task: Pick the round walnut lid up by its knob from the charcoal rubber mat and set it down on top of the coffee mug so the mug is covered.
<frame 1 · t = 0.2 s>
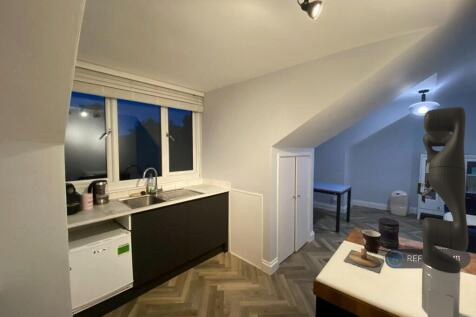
hand: (435, 204, 101), 29 cm above the counter, fingers open, 8 cm apart
lid: (363, 259, 103), resting on mat
storage jar: (388, 246, 118), on the counter
coffee mug: (371, 251, 112), on the counter
mat: (363, 260, 103), on the counter
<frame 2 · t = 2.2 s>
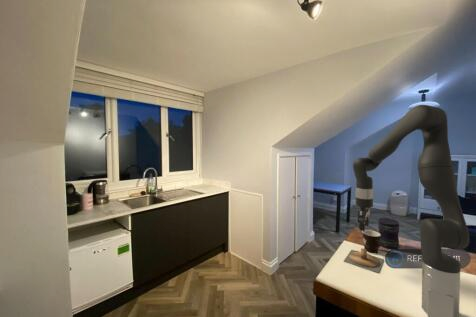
hand: (364, 227, 102), 17 cm above the counter, fingers open, 8 cm apart
nothing on the counter moved.
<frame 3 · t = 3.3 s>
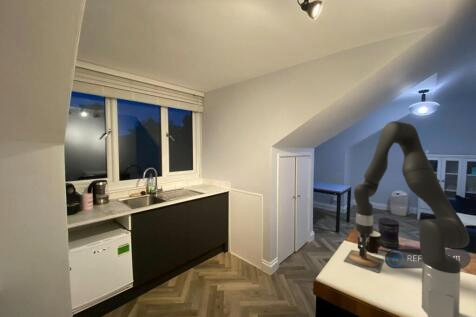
hand: (364, 252, 103), 4 cm above the counter, fingers open, 8 cm apart
nothing on the counter moved.
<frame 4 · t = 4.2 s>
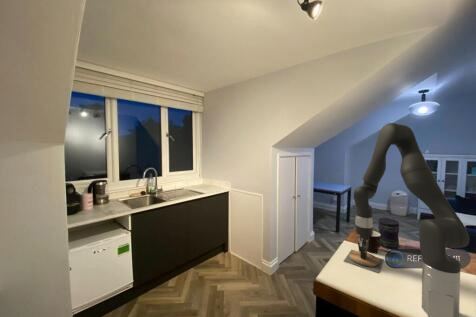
hand: (363, 257, 103), 2 cm above the counter, fingers closed on lid, 2 cm apart
lid: (363, 259, 103), point 1 cm above the counter, touching gripper
everything else where it was.
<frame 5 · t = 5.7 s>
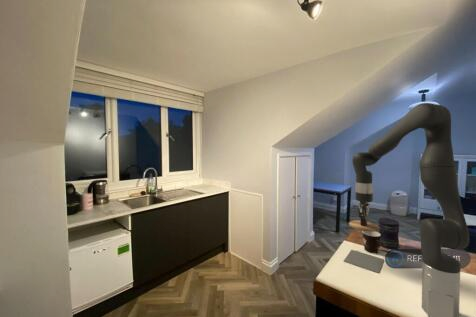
hand: (363, 224, 102), 19 cm above the counter, fingers closed on lid, 2 cm apart
lid: (363, 226, 102), point 18 cm above the counter, touching gripper
everything else where it was.
when the fingers open (13 cm above the counter, at t = 7.5 s): lid drops 2 cm, resting on coffee mug.
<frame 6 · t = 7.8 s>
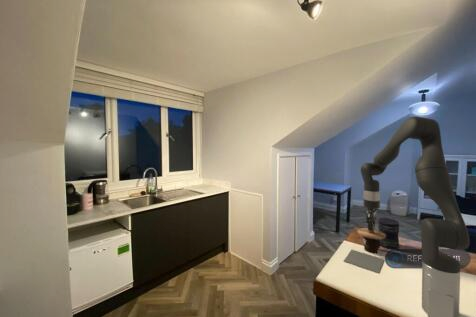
hand: (371, 228, 111), 13 cm above the counter, fingers open, 4 cm apart
lid: (371, 234, 111), point 10 cm above the counter, touching coffee mug
coffee mug: (371, 251, 112), on the counter, touching lid
everything else where it was.
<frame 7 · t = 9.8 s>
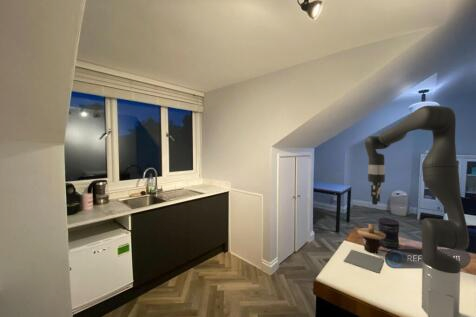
hand: (376, 202, 108), 28 cm above the counter, fingers open, 8 cm apart
nothing on the counter moved.
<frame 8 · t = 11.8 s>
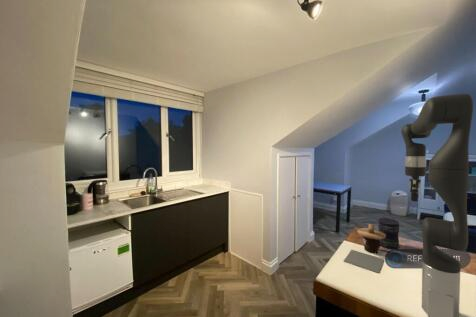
hand: (414, 199, 95), 33 cm above the counter, fingers open, 8 cm apart
nothing on the counter moved.
at the end: lid 0.1 cm from the coffee mug (horizontally); lid point 10.0 cm above the counter; lid tilted 0° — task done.
